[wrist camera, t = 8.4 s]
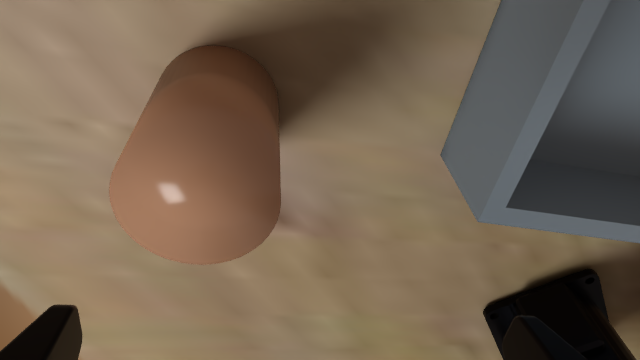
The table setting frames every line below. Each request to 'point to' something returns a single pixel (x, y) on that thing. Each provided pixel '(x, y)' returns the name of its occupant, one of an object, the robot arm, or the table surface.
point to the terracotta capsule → (202, 160)
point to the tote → (554, 120)
